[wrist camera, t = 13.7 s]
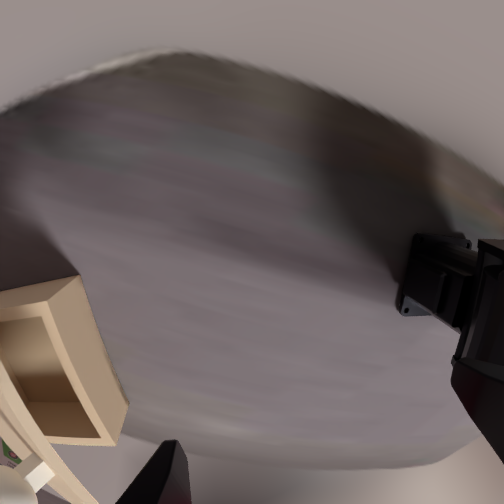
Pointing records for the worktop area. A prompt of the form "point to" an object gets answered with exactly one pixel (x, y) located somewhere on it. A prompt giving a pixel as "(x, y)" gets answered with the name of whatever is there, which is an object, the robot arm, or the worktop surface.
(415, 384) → the worktop surface
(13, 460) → the ink box
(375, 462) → the worktop surface
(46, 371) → the carton
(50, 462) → the lid flap
